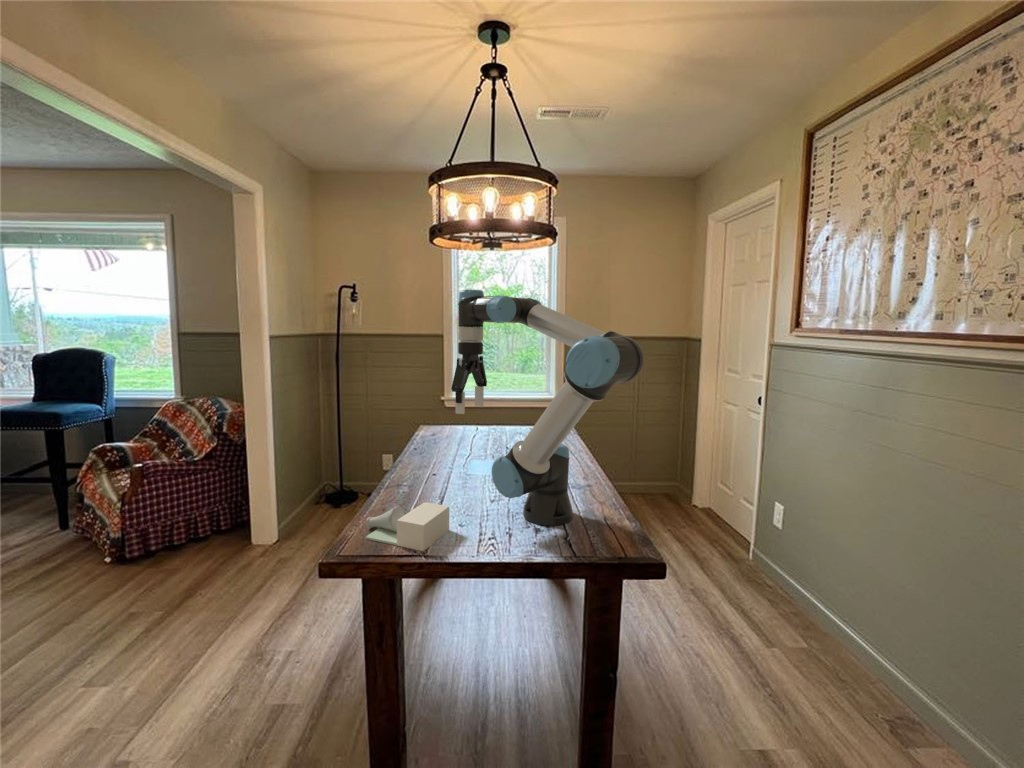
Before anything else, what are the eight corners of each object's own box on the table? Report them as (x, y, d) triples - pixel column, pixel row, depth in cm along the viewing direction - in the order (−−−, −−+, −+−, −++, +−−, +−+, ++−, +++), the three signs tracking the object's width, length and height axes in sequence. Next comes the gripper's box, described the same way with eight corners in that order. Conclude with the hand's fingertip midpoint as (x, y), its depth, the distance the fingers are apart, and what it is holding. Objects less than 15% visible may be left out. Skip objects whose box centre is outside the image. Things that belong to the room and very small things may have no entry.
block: (449, 529, 137) (449, 506, 137) (423, 551, 124) (423, 525, 124) (424, 525, 140) (424, 502, 139) (397, 545, 127) (396, 520, 126)
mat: (424, 525, 140) (424, 523, 140) (397, 545, 127) (396, 543, 127) (395, 519, 144) (395, 517, 144) (365, 538, 131) (365, 536, 131)
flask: (409, 520, 139) (380, 524, 142) (399, 500, 136) (370, 504, 140) (398, 538, 132) (368, 541, 136) (388, 517, 130) (357, 521, 133)
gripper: (476, 339, 160) (475, 403, 163) (439, 342, 137) (439, 415, 140) (497, 340, 157) (496, 404, 160) (463, 343, 134) (462, 418, 137)
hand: (469, 410), depth 150 cm, fingers open, 13 cm apart
